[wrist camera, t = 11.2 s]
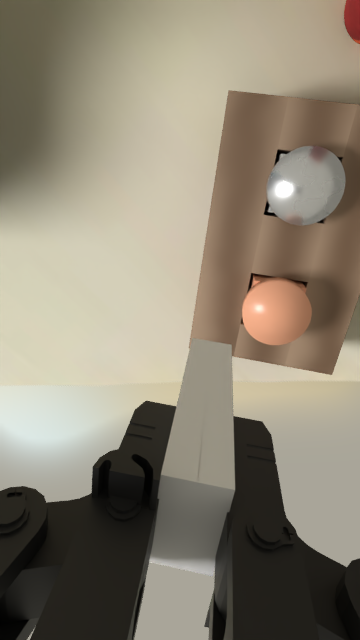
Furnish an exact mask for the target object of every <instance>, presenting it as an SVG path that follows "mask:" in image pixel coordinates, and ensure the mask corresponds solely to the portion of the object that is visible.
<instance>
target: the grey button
mask: <svg viewBox="0 0 360 640" xmlns="http://www.w3.org/2000/svg"><path fill="white" fill-rule="evenodd" d="M344 189H345V172H344V169H343V166H342V164H341V162H340V160H339V159H338V158H337V157H336V155H335V154H333V153H332V152H331V151H329V150H327V149H325V148H322V147H318V146H304V147H300V148H297V149H295V150H293V151H291V152H289V153H288V154H280V155H279V156H277V157H276V159H275V164H274V167H273V169H272V170H271V172H270V174H269V177H268V180H267V185H266V197H267V201H266V206H265V210H266V211H267V212H272V213H274V214H276V215H277V216H278V217H279V218H280V219H282V220H284V221H285V222H287V223H290V224H294V225H310V224H313V223H316V222H319V221H321V220H322V219H324V218H326V217H327V216H328V215H329V214H330V213H332V212H333V210H334V209H335V208H336V207H337V205H338V204H339V202H340V200H341V198H342V196H343V193H344Z"/></svg>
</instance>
